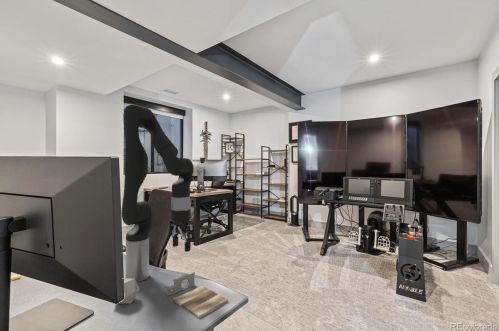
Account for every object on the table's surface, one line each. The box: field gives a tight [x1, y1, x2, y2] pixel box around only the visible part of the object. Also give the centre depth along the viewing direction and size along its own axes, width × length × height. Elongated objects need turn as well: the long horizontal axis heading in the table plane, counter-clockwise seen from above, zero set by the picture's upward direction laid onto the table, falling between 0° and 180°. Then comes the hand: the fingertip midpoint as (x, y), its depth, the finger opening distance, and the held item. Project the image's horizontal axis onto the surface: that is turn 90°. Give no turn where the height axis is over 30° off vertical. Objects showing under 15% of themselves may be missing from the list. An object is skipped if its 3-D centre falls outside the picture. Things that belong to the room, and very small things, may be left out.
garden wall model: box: [166, 271, 196, 296], centre depth 95 cm, size 12×2×6 cm, turn 134°
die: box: [118, 278, 141, 305], centre depth 87 cm, size 8×9×10 cm
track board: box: [173, 285, 229, 319], centre depth 87 cm, size 15×13×1 cm
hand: (181, 248), depth 95 cm, fingers open, 8 cm apart
